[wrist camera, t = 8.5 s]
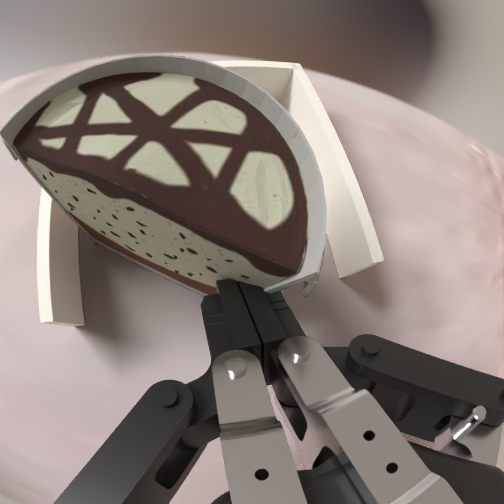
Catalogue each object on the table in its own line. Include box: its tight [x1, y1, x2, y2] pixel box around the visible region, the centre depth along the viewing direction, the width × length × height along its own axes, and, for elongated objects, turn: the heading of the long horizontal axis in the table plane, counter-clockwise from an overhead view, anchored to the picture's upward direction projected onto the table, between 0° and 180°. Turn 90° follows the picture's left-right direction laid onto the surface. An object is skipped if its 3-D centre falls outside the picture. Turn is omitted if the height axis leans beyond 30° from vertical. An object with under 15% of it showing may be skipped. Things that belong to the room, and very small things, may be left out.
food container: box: [0, 55, 327, 297], centre depth 12 cm, size 12×6×10 cm, turn 69°
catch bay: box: [37, 61, 384, 326], centre depth 15 cm, size 18×16×4 cm
